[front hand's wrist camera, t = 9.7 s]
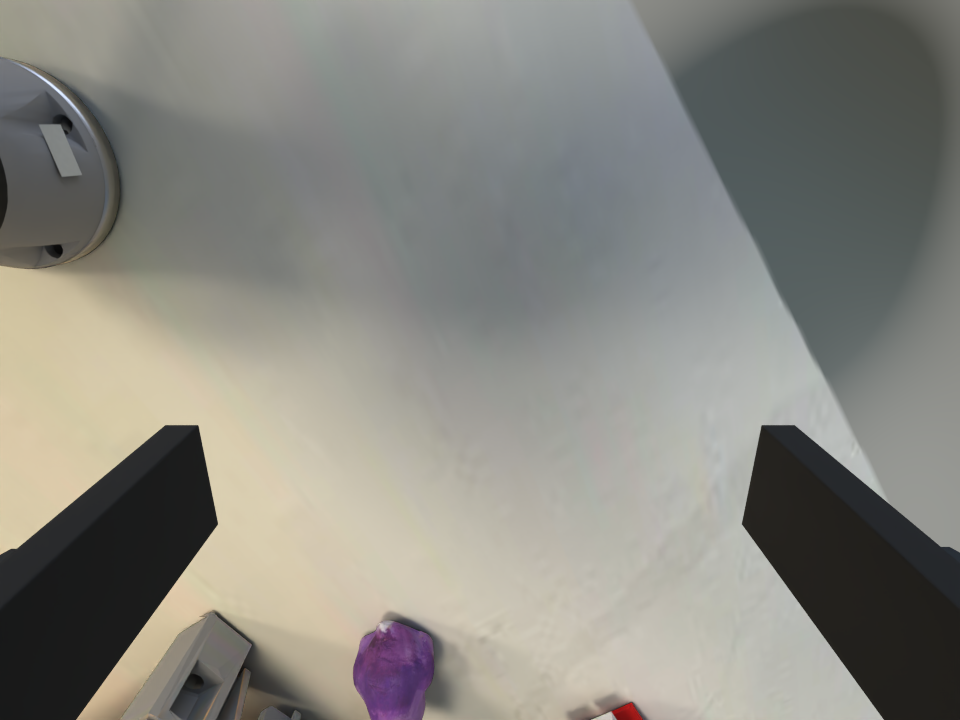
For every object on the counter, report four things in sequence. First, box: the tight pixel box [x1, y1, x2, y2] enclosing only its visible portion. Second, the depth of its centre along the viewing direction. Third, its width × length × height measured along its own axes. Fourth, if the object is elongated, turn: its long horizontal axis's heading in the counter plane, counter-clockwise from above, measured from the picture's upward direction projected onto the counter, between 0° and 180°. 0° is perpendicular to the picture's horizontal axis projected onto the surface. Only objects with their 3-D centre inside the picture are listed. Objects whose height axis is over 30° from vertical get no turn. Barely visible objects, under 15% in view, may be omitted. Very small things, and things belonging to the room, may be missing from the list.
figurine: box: [353, 621, 434, 720], centre depth 52 cm, size 9×10×15 cm
